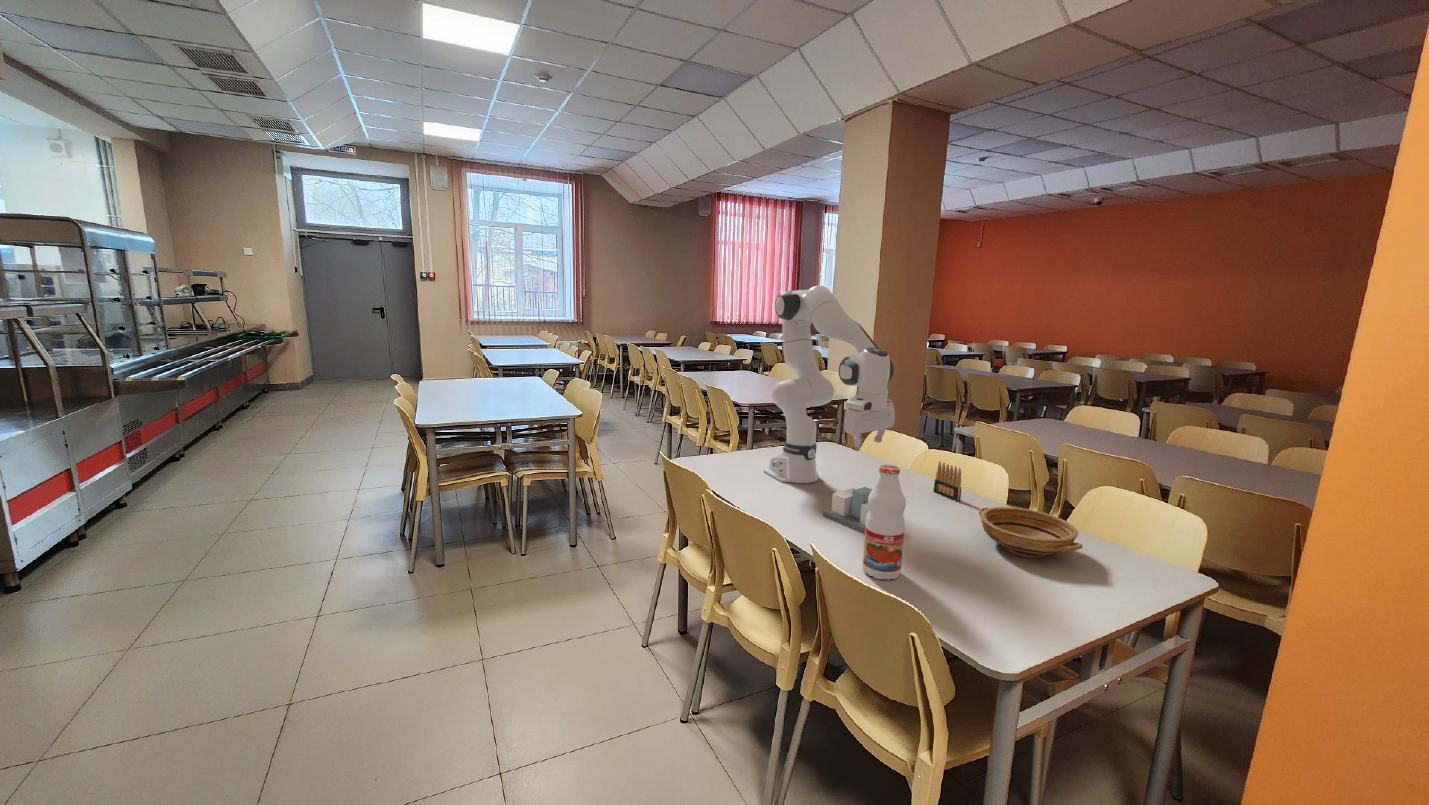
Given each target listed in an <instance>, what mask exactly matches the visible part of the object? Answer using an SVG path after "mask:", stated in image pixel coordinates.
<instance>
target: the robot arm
mask: <svg viewBox="0 0 1429 805" xmlns="http://www.w3.org/2000/svg"><path fill="white" fill-rule="evenodd" d="M774 310H775V314H776V315H777V317H778V318H779V319H781V320H782V328H781V329H782V330H781V332H782V333H781V337H782V338H781V339H782V341H781V342H782V349H783V355H784V356H783V357H784V362H785V365H786V367H787V368H789V369H790V370H792V371H793V372H795V374H796V375H797V378H790V379H785V380H782V381H777V382H776V383H775V384H774V385H773V388H772V393H771V394H772V395H771V397H772V400H773V402H774V404H775V405H776V406H777V407H778V408H779V409H780V410H781V411H782V413H783V414H784V418H785V421H786V440H785V441H782V442H781V446H783V447H782V450H780V451H778V452H777V453H775V454H773V455H772V456H771V458H770V460H769V466H766V467H764V468H763V471H762V472H764V473H765V474H767V475H768V476H770V477H772V478H774V479H776V480H777V481H779V482H781V483H794V484H809V483H814V482H816V481H818V480H819V477H818V471H817V470H818V469H817V459H816V454H817V449H818V448H817V442H816V440H817V424H816V422H815V421H814V419H813V418H811V417H810V416H808V414H807V408H809V407H810V408H811V407H820V406H823V405H826V404H828V403H830V402H831V401H832V400H833V398H834V395H835V388H834V385H833V383H832V381H830V379H828V378H827V377H825V375H824V374H823V373H822V372H821V371H820V368H819V367H818V365H817V362H816V359H815V358H816V357H815V352H814V347H813V346H814V345H813V340H812V333H811V326H812V325H813V327H814V328H815V330H816V331H817V332H818V333H819V335H822V336H823V337H825V338H828V339H834V340H839V341H843V342H845V343H848V344H849V345H851V346H852V347H854V348H855V350H856V351H857V352H858V353H856V354H855V355H851V356H845V357H844V358H843V359H842V360H841V361H840V363H839V366H838V378H839V379H840V381H841V382H842V383H843V384H844V386H845V385H846V386H849V387H856V386H857V387H858V390H857V393H856V394H855V395H854V396H852V397H851V398H849V399H848V400H846V401H845V407H846V408H847V409H845V413H844V418H843V419H844V421H843V430H844V432H845V433H846V434H849V435H852V438H853V441H854V446H855V447H857V448H859V447H862V446H863V441H862V440H861V439H860V438H861V436H862V434H863V433H864V434H865V433H869V432H875V431H877V433H876V435H875V436H874V439H873V440H874V442H875V443H877V444H879V443H882V442H883V441H882V439H883V436H884V435H885V432H886V429H890V428H893V427H894V425H895V416H896V414H895V408H894V407H895V406H894V402H893V400H892V399H891V398H888V395H889V390H888V384H889V383H890V382H891V380H892V378H893V377H894V374H895V366H894V365H895V364H894V363H893V361H892V359H891V358H890V354H889V352H887V351H886V350H885V349H882V348H880V347H879V346H878V345H877V343H876V342H875V341H873V339H872V337H871V336H870V335H869V334H868V332H867V331H866V330H865V329H864V327H862V325H861V324H859V323H858V322H857V321H856V320H855V319H853V318H852V317H851V316H850V315H849V314H848V313H847V312H846V311H845V310H844V309H843V307H842V305H841V304H840V302H839V300H838V299H837V298H836V296H835V295H834V293H832V292H831V290H830V289H829V288H827V286H824V285H819V284H818V285H815V286H812V287H811V288H809V289H798V290H786V291H783V292H779V294H778V295H777V297H776V298H775V301H774ZM811 324H812V325H811Z"/></svg>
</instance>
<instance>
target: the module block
mask: <svg viewBox="0 0 1429 805" xmlns="http://www.w3.org/2000/svg"><path fill="white" fill-rule="evenodd" d="M855 489H856V490H853V492H852V507H851V515H853V516H856V517H858V518H860V516H861V505H862V504H865V503H868V497H869V494H870V492H871V491H872V490H873V488H870V487H867V486H863V487H860V488H855Z"/></svg>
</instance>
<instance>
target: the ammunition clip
mask: <svg viewBox="0 0 1429 805" xmlns="http://www.w3.org/2000/svg"><path fill="white" fill-rule="evenodd" d="M961 486H962V469H961V467H959V468H957V466H953V464H951V465H949V463H945V462H941V460H939V462H938V464H937V471H936V476H935V479H934V484H933V493H934V492H935V493H934V494H936V493H937V495H939V494H940V495H939V496H941V495H942V496H941V497H944V498H946V497H947V499H949V500H950V501H954V500H955V501H954V502H957V503H958V502H960V501H961V500H962V499H961V497H962V487H961Z"/></svg>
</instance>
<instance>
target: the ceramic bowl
mask: <svg viewBox="0 0 1429 805" xmlns="http://www.w3.org/2000/svg"><path fill="white" fill-rule="evenodd" d="M978 515H979V517H980V519H981V521H980V522H981V526H982V528H983V531H984V532H985V533H986V534H987V536H989V538H991V539H992V540H993V541H995V542H996V543H998V544H1000V545H1002V547H1003V548H1004V549H1005V550H1006V551H1008V552H1010V553H1013V554H1016V555H1018V556H1022V557H1027V558H1043V557H1045V556H1047V555H1053V554H1054V555H1055V554H1059V553H1062V552H1074V551H1078V550H1081V549H1082V548H1083V543H1081V542H1075V540H1076V538H1078V536H1079V531H1078V529H1077V528H1076V527H1075V526H1074V525H1073V524H1071V523H1070V522H1068V521H1066V520H1065V519H1062V518H1060V517H1057V516H1056V515H1053V514H1049V513H1046V512H1042V511H1039V510H1034V509H1028V508H1025V507H1024V508H1023V507H1013V506H1012V507H1011V506H998V507H997V506H996V507H982V508H980V509H979V510H978Z"/></svg>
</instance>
